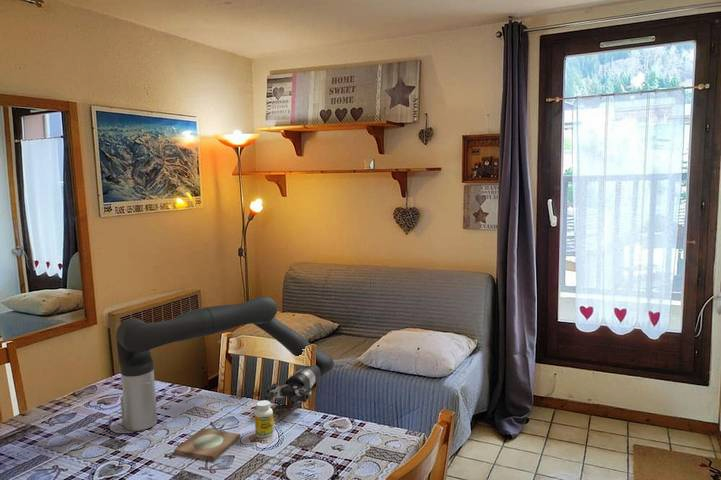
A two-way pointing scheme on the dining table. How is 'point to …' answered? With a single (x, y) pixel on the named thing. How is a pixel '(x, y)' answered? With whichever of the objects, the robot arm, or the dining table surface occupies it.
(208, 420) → the dining table surface
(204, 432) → the walnut board
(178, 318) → the robot arm
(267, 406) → the supplement bottle
